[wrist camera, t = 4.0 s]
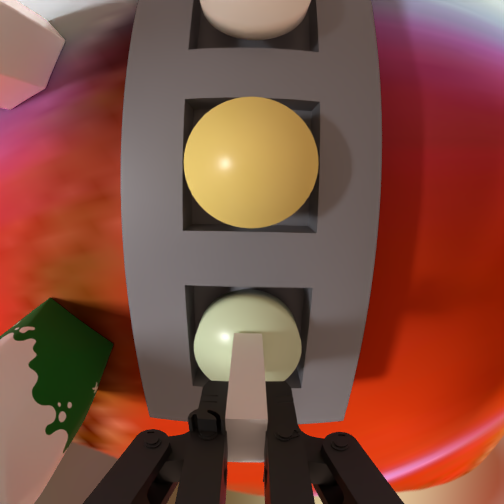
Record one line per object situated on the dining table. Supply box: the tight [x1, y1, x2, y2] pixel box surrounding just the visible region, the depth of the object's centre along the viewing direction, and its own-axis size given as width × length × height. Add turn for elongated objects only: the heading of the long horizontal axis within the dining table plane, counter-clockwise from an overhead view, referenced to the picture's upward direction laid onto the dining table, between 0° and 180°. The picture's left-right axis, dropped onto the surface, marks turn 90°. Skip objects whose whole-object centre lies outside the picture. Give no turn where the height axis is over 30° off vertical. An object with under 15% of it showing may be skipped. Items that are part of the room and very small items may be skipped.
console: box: [121, 0, 382, 424], centre depth 17 cm, size 14×34×5 cm, turn 179°
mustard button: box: [184, 97, 319, 228], centre depth 14 cm, size 6×6×2 cm
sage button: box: [194, 289, 302, 381], centre depth 17 cm, size 6×6×2 cm
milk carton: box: [0, 298, 114, 504], centre depth 14 cm, size 9×9×20 cm
